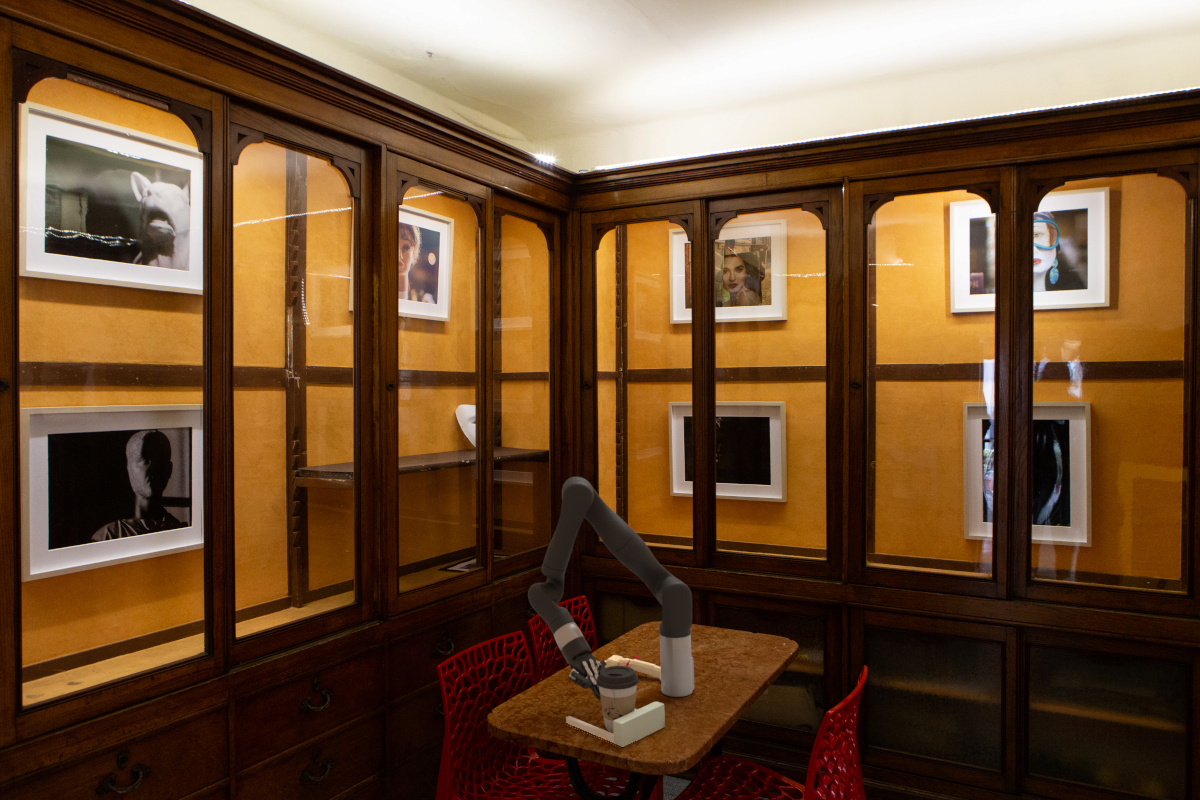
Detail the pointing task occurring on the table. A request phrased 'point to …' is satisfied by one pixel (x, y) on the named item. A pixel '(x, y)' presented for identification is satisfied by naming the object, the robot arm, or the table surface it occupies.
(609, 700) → the coffee cup
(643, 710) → the guide track
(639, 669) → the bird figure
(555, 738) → the table surface
